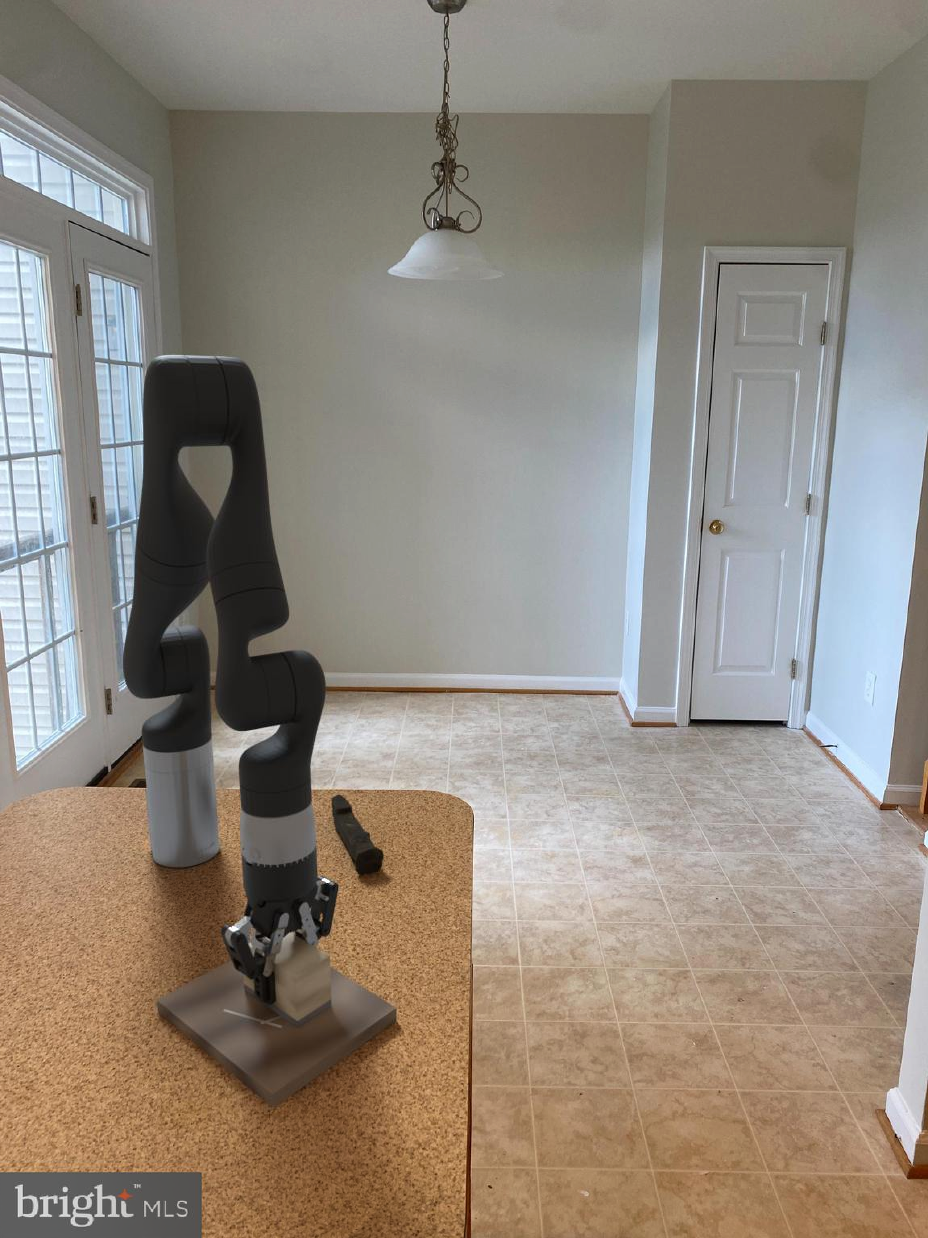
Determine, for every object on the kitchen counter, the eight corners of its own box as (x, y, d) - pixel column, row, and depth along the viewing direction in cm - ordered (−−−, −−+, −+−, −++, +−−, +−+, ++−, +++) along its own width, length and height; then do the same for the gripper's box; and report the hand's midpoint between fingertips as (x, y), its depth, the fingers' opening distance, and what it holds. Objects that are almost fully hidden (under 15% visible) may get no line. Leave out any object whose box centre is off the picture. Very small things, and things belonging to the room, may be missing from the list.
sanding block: (244, 990, 97) (241, 941, 95) (277, 970, 100) (275, 923, 99) (297, 1028, 91) (295, 976, 90) (331, 1006, 94) (329, 956, 93)
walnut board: (157, 1012, 96) (156, 1000, 95) (279, 945, 107) (278, 934, 107) (273, 1108, 83) (272, 1094, 83) (396, 1020, 95) (396, 1008, 94)
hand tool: (384, 873, 124) (384, 843, 123) (356, 878, 123) (355, 847, 121) (352, 815, 141) (352, 788, 140) (327, 819, 140) (326, 791, 139)
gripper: (309, 808, 99) (315, 945, 103) (196, 857, 88) (208, 1007, 92) (355, 829, 94) (360, 971, 98) (242, 884, 84) (252, 1041, 88)
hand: (286, 988), depth 95 cm, fingers closed on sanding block, 4 cm apart
